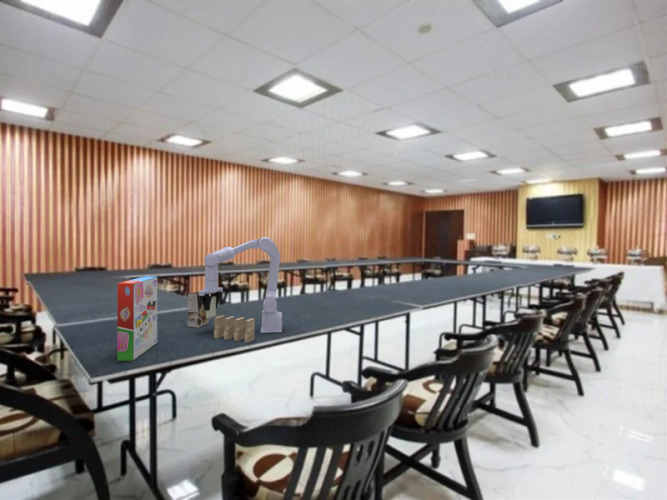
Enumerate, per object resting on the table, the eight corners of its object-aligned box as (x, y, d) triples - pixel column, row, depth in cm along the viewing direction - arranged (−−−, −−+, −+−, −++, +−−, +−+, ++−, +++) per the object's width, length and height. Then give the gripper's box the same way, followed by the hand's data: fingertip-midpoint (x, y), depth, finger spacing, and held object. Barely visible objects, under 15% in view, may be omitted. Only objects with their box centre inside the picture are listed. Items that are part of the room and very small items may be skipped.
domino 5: (254, 339, 153) (254, 318, 153) (248, 342, 148) (248, 321, 148) (251, 339, 153) (251, 318, 153) (244, 342, 149) (245, 320, 148)
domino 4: (244, 338, 154) (244, 317, 154) (237, 341, 150) (237, 319, 149) (240, 337, 155) (241, 317, 155) (234, 340, 150) (234, 319, 150)
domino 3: (234, 336, 156) (234, 316, 156) (227, 339, 151) (227, 318, 151) (230, 336, 157) (231, 316, 156) (224, 339, 152) (224, 318, 152)
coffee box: (198, 327, 170) (199, 294, 170) (186, 326, 172) (187, 293, 171) (209, 323, 179) (209, 291, 179) (197, 322, 180) (198, 290, 180)
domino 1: (215, 315, 165) (216, 296, 165) (208, 318, 160) (209, 298, 160) (212, 315, 166) (213, 296, 165) (205, 317, 161) (206, 297, 161)
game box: (143, 343, 143) (144, 276, 142) (157, 343, 144) (158, 276, 143) (116, 361, 123) (117, 282, 122) (133, 361, 123) (133, 282, 122)
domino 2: (224, 335, 158) (224, 315, 157) (217, 338, 153) (217, 317, 153) (221, 335, 158) (221, 315, 158) (214, 338, 153) (214, 317, 153)
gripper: (214, 277, 171) (213, 305, 171) (193, 280, 157) (192, 311, 157) (226, 278, 168) (226, 307, 169) (206, 281, 155) (206, 312, 155)
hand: (211, 309), depth 163 cm, fingers closed on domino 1, 5 cm apart
